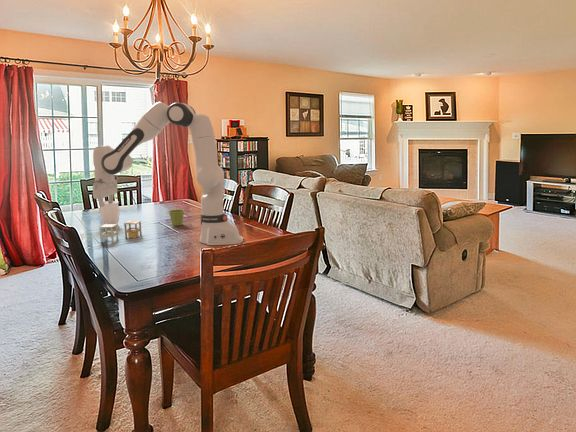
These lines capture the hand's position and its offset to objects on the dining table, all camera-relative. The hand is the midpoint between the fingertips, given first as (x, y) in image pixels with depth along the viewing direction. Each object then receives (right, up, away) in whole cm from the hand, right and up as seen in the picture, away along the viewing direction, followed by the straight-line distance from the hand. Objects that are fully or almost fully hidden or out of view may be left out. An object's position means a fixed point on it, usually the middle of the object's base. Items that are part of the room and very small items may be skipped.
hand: (106, 205), depth 218 cm
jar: (-13, -12, +37) cm, 41 cm away
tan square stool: (+9, -17, +12) cm, 23 cm away
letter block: (+9, -17, +12) cm, 23 cm away
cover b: (0, -18, +4) cm, 19 cm away
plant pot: (+26, -11, +41) cm, 50 cm away
